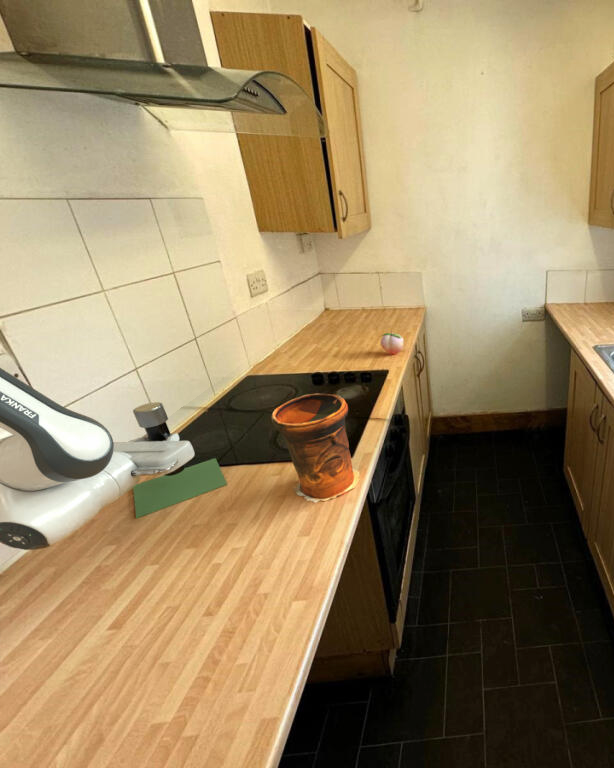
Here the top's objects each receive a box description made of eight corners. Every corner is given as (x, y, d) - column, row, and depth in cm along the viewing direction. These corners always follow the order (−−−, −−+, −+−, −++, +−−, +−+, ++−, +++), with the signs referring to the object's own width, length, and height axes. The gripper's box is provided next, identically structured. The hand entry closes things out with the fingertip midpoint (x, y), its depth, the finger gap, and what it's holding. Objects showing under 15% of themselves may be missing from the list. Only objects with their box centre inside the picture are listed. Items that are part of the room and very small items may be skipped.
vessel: (312, 516, 85) (289, 431, 76) (282, 487, 93) (258, 408, 85) (374, 482, 95) (359, 404, 86) (342, 459, 103) (326, 386, 95)
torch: (162, 480, 90) (132, 414, 83) (160, 470, 93) (132, 406, 86) (189, 471, 92) (163, 406, 86) (186, 462, 96) (161, 399, 89)
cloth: (136, 518, 85) (136, 517, 85) (133, 486, 94) (132, 485, 94) (227, 484, 94) (226, 483, 94) (216, 458, 104) (215, 457, 104)
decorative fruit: (408, 351, 175) (406, 328, 171) (401, 358, 168) (398, 334, 164) (387, 350, 177) (384, 327, 173) (379, 357, 169) (375, 333, 165)
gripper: (157, 459, 76) (207, 422, 89) (45, 462, 76) (111, 424, 89) (169, 487, 79) (216, 447, 91) (61, 490, 79) (123, 449, 91)
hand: (163, 436), depth 90 cm, fingers closed on torch, 3 cm apart
